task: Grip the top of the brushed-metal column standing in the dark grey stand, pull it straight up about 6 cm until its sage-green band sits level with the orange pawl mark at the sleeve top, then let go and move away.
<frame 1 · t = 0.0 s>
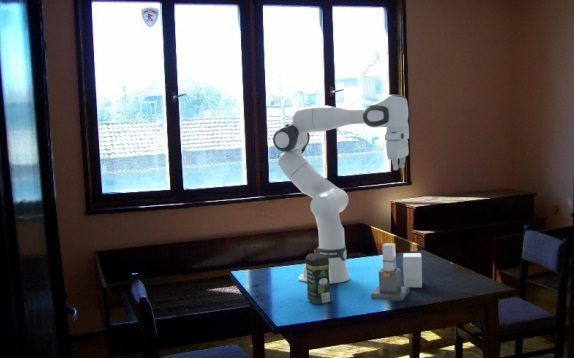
hand: (399, 168, 243), 48 cm above the table, tool pointing down, fingers open, 8 cm apart
coffee jar: (319, 301, 231), on the table
stand: (390, 295, 234), on the table
supplement box: (413, 285, 246), on the table
column: (389, 267, 233), point 11 cm above the table, slide at 0.0 cm
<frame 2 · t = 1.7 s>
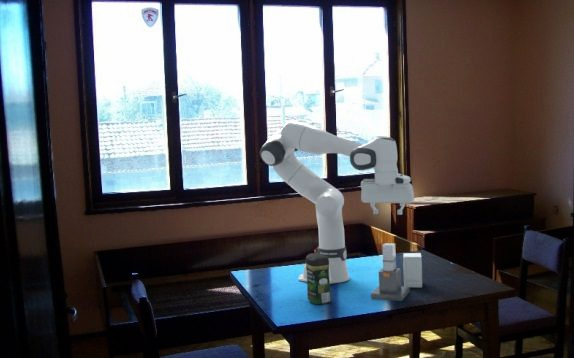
hand: (387, 214, 230), 32 cm above the table, tool pointing down, fingers open, 8 cm apart
nothing on the table moved.
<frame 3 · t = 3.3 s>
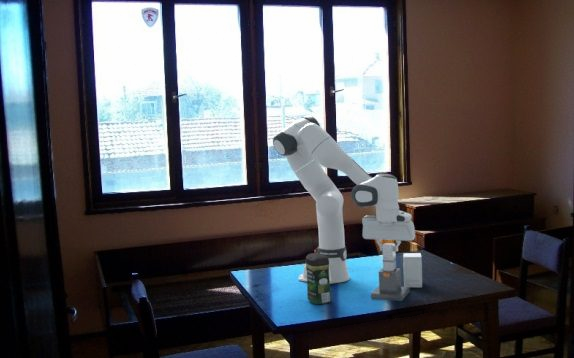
hand: (389, 250, 232), 18 cm above the table, tool pointing down, fingers closed on column, 4 cm apart
column: (389, 267, 233), point 11 cm above the table, slide at 0.0 cm, touching gripper
everything else where it was.
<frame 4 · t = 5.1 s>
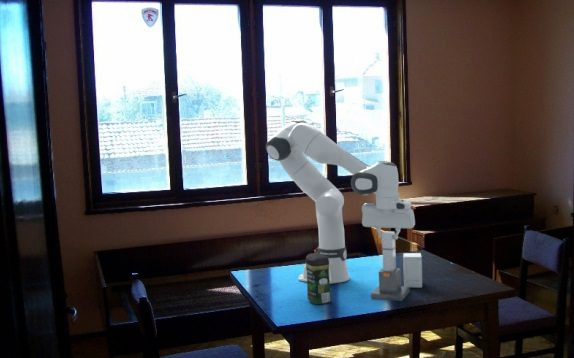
hand: (388, 238, 231), 22 cm above the table, tool pointing down, fingers closed on column, 4 cm apart
column: (389, 255, 232), point 16 cm above the table, slide at 4.7 cm, touching gripper
everything else where it was.
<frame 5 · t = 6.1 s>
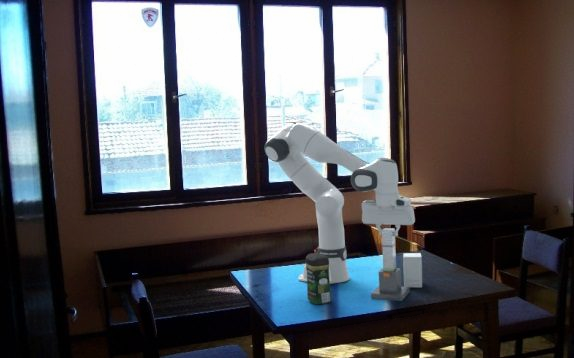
hand: (388, 235, 231), 24 cm above the table, tool pointing down, fingers closed on column, 4 cm apart
column: (389, 252, 232), point 17 cm above the table, slide at 5.9 cm, touching gripper
everything else where it was.
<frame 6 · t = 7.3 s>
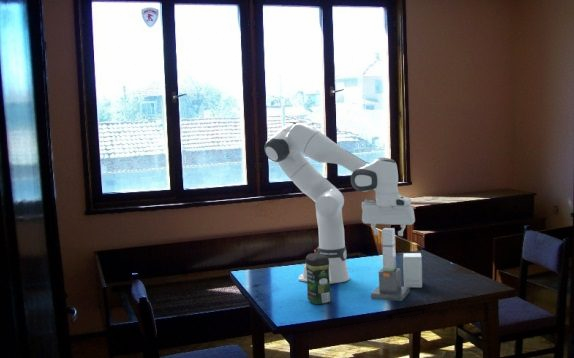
hand: (388, 235, 231), 24 cm above the table, tool pointing down, fingers open, 8 cm apart
column: (389, 251, 232), point 17 cm above the table, slide at 6.0 cm
everything else where it was.
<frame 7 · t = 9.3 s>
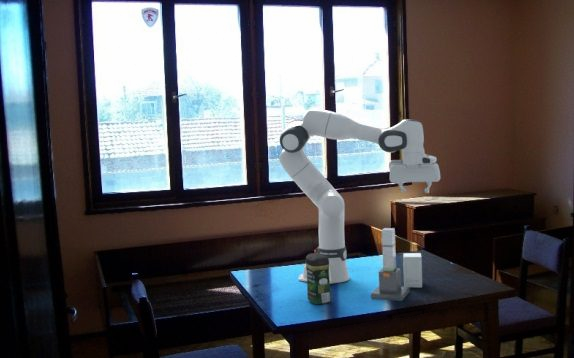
hand: (415, 193, 243), 38 cm above the table, tool pointing down, fingers open, 8 cm apart
nothing on the table moved.
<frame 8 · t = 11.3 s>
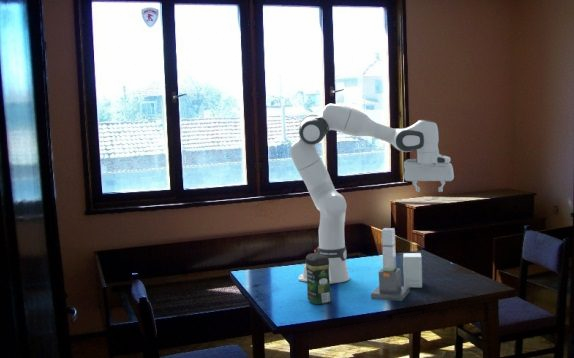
hand: (429, 191, 251), 37 cm above the table, tool pointing down, fingers open, 8 cm apart
nothing on the table moved.
at the end: column slide at 6.0 cm; the gripper is holding nothing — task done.
